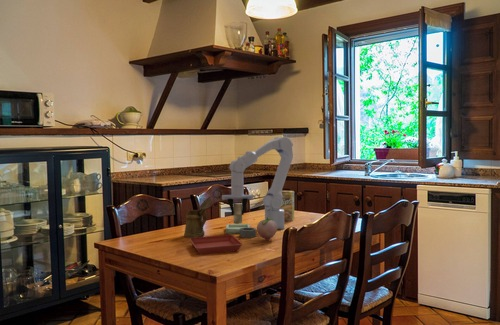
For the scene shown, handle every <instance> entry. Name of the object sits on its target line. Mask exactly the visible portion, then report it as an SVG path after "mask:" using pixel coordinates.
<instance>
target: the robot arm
mask: <svg viewBox="0 0 500 325" xmlns="http://www.w3.org/2000/svg"><path fill="white" fill-rule="evenodd" d="M293 146H294V144H293V142H292V140H291V139H290V138H289V137H288V136H283V137H282V136H277V137H273V139H270V140H268V141H267V142H266V143H264V144H263V145H261V146H260V147H258V148H257V149H256V150H254V151H252V150H249V151H248V150H247V151H245V154H243V155H242V156H238V157H237V159H234V160H232V161H231V162H230V163H229V167H228V169H229V170H230V171H231V172H230V173H231V174H230V175H231V176H230V181H231V182H230V184H231V187H230V189H231V190H230V192H231V194H222V195H221V200H222V201H224V200H227V204H228V205H229V208H230V211H231V216H234V212H233V204H234V200H241V204H242V216H244V213H245V208H246V205H247V204H248V201H249V200H254V194H245V193H244V188H245V187H244V186H245V185H244V172H245V170H246V168H247V169H248V168H249V167H250V166H251V165H253V164H254V163H256V162H257V161H258V158H260V157H262V155H264V154H266V153H268V152H270V151H272V150H274V151H276V152H277V153H278V155H279V157H280V160H279V163H278V166H277V169H276V171H275V175H274V178H273V181H272V183H271V186H270V188H269V189H268V190H267V192H266V194H265V195H264V196H263V198H262V204H263V206H264V220H265V219H267V217H268V218H271V219H273V221H274V222H275V223H276V225H277V230H279V229H281V230H284V229H285V221H286V220H284V209H280V207H281V205H282V197H283V195H282V192H281V191H283V188H284V185H285V182H286V178H287V176H288V173H289V170H290V168H291V164H292V162H293V159H294V152H293Z"/></svg>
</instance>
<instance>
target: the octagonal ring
mask: <svg viewBox="0 0 500 325" xmlns="http://www.w3.org/2000/svg"><path fill="white" fill-rule="evenodd" d="M239 237H240V238H244V239H246V238H249V239H250V238H254V237H257V227H251V226H250V227H245V228H240V233H239Z"/></svg>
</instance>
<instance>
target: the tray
mask: <svg viewBox="0 0 500 325" xmlns="http://www.w3.org/2000/svg"><path fill="white" fill-rule="evenodd" d="M225 226H226V227H225V235H233V234H235V235H237V234H239V235H240V228H245V227H251V225H250V223H241V224H234V223H232V224H231V223H228V224H227V223H226V225H225Z"/></svg>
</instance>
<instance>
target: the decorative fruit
mask: <svg viewBox="0 0 500 325" xmlns="http://www.w3.org/2000/svg"><path fill="white" fill-rule="evenodd" d="M277 230H278V229H277V225H276V223H275V222H274V221H273V219H271V218H268V217H267V219H265V218H264V219H262V220H260V221H259V222H258V224H257V226H256V233H257V234H258V236H260V237H261V238H262V239H264V240H266V241H269V240H270V239H272V238H274V236H275V235H276V234H277Z"/></svg>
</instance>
